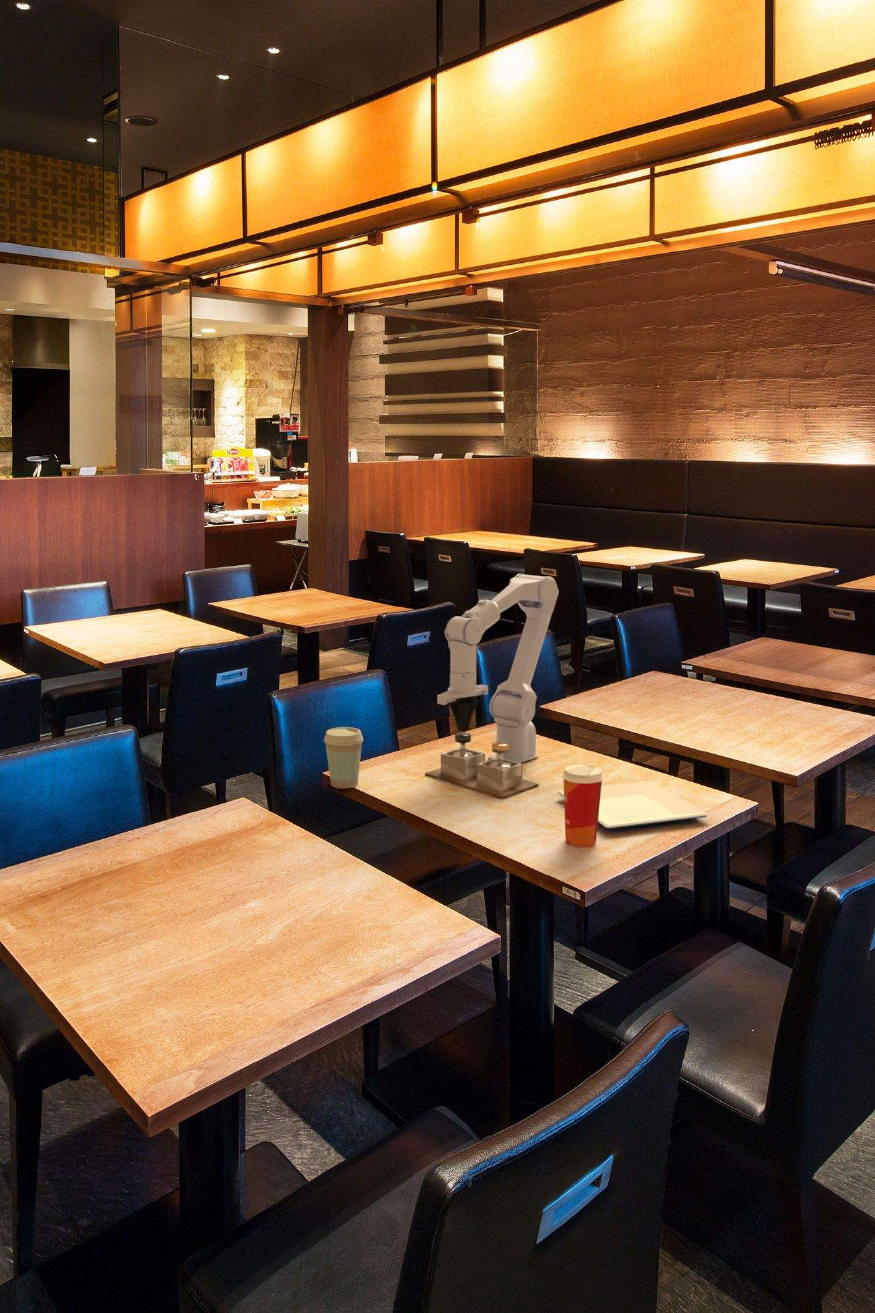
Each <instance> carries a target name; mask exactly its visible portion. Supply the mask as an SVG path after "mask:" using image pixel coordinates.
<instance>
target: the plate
mask: <svg viewBox="0 0 875 1313" xmlns="http://www.w3.org/2000/svg"><path fill="white" fill-rule="evenodd" d="M557 793H558V795H560V796H561V797H563V798H564V789H563V790H562V789H560V790H558V791H557ZM708 816H709V814H708V813H706V812H705V811H703V810H702V809H699V808H698V807H696V806H695V805H693V804H691V803H690V802H688V801H686V800H684V799H683V798H681V797H679V796H678V795H676V794H674V793H672V792H671V791H669V790H667V789H666V788H664V787H662V786H661V785H659V784H658V783H656V782H654V781H652V780H643V781H634V782H627V783H626V782H624V783H616V784H608V785H607V784H606V785H601V795H600V806H599V816H598V824H600V825H601V826H602V827H604V828H605V829H607V830H613V829H620V828H628V827H629V828H630V827H637V826H645V825H654V824H660V823H669V822H676V821H677V822H678V821H684V820H685V821H686V820H691V819H692V820H693V819H700V818H702V819H703V818H707V817H708Z"/></svg>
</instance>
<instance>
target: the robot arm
mask: <svg viewBox="0 0 875 1313" xmlns="http://www.w3.org/2000/svg"><path fill="white" fill-rule="evenodd" d="M559 592H560V591H559V588H558V585H557V582H556V580H555V579H554V577H552V576H541V575H531V574H530V575H529V574H525V573H518V574H516V575H515V576H514V577H512V578H510V579H509V585H507V586H506V587H505V588H504V589H503V590H501V591H500V592H499V593H497V595H495V597H493V598H492V599H479V600H478V601H477V604H476V605H475V606H473V607H471V609H469V610H466V611H465V612H464V613H463V614H462V615H461V616H457V615H456V616H454V617H451V618H450V620H448V621H447V624H446V627H445V629H444V636H445V638H446V640H447V642H448V646H447V647H448V648H449V650H450V666H449V667H450V675H449V676H450V679H449V680H450V686H449V687H448V688H447V691H444V692H442V693H440V694H436V695H437V697H436V698H437V700H436V702H437V704H438V705H441V706H442V705H443V706H445V705H448V706H449V708H450V710H451V712H452V714H453V716H454V720H455V723H456V728H457V731H459V732H462V733H466V732H468V731H469V729H470V725H471V721H472V718H473V715H474V712H475V711H476V709H477V706H478V705H479V704H480V703H479V701H480V700H479V698H475V697H477V696H482V695H485V696H486V695H489V685H487V684H486V685H485V684H477V644H479V643H480V641H481V639H482V638H483V635H484V633H485V632H486V630H488V629H490V627H492V626H493V625H494V624H496V623H497V622H498V621H499V620H500V618H501V613H502V612H504V611H506V610H508V609H509V608H510V607H512V606H514V605H515V604H518V606H519V608H520V609H521V610H522V611H523V612H524V613H525V615H526V620H525V623H524V627H523V629H522V634H521V637H520V639H519V641H518V642H519V643H518V646H517V650H516V653H515V656H514V659H513V662H512V666H511V669H510V672H509V676H508V678H507V680H505V681H503V682H501V683H500V684H498V685H497V688H496V691H495V693H493V695H492V697H491V699H490V702H489V713H490V715H491V716H492V718H493V721H494V722H495V723H496V741H495V742H504V743H508V744H509V750H508V752H506V753H503V759H506V760H510V761H514V762H517V763H521V764H523V763H525V762H529V761H531V760H533V759H537V758H538V757H539V755H538V754H537V753H536V750H537V749H536V748H537V747H536V746H537V744H536V743H537V731H536V727H535V725H534V723H533V722H532V720H533V719H534V716H535V714H536V701H537V698H538V696H537V695H536V692H535V691H534V690H533V688H532V686H531V684H532V680H533V677H534V674H535V671H536V668H537V665H538V660H539V657H540V654H541V651H542V647H543V645H544V641H545V638H546V635H547V631H548V628H549V624H550V621H551V617H552V614H553V612H554V609H555V607H556V602H557V599H558V597H559V594H560V593H559ZM495 758H497V753H495V754H492V755H489V756H488V759H489V760H491V759H495Z"/></svg>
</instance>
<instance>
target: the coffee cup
mask: <svg viewBox="0 0 875 1313" xmlns="http://www.w3.org/2000/svg"><path fill="white" fill-rule="evenodd" d="M363 741H364V738H363V734H362V731H361V730H360V729H359V728H357V727H356V728H355V727H351V726H350V727H349V726H348V727H347V726H341V727H339V726H338V727H334V728H330V729H327V730H326V732H325V736H324V739H323V743H325V749H326V756H327V758H326V759H327V764H328V773H329V779H330V785H331V787H333V788H335V789H342V790H343V789H351V788H353V787H352V786H355V785H357V786H358V784H359V783H358V782H359V775H360V765H361V756H362V755H361V753H362V746H363ZM355 787H356V786H355Z"/></svg>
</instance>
